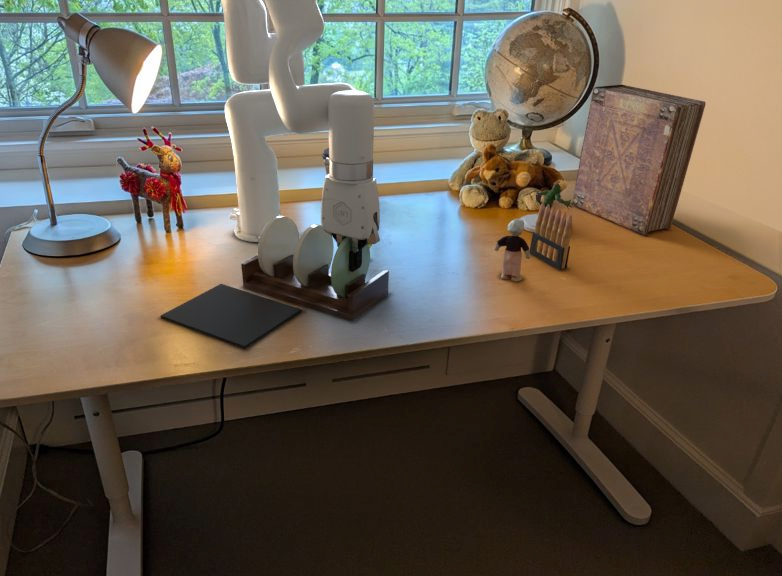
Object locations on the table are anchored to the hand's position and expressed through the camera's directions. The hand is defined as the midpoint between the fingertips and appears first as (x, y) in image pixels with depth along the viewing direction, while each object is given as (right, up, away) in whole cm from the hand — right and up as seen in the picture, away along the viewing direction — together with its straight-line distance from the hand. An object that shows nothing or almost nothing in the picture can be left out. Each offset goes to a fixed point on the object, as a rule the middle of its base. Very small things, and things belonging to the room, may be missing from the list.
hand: (351, 267), depth 119 cm
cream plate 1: (-14, +5, +7) cm, 17 cm away
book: (+68, +20, +47) cm, 85 cm away
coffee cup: (-4, +29, +59) cm, 66 cm away
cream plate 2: (-7, +3, +4) cm, 9 cm away
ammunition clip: (+43, +5, +22) cm, 48 cm away
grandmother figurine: (+33, 0, +14) cm, 36 cm away
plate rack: (-7, -4, +8) cm, 11 cm away
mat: (-22, -9, -1) cm, 24 cm away
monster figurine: (+47, +16, +41) cm, 64 cm away
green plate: (0, 0, 0) cm, 0 cm away
